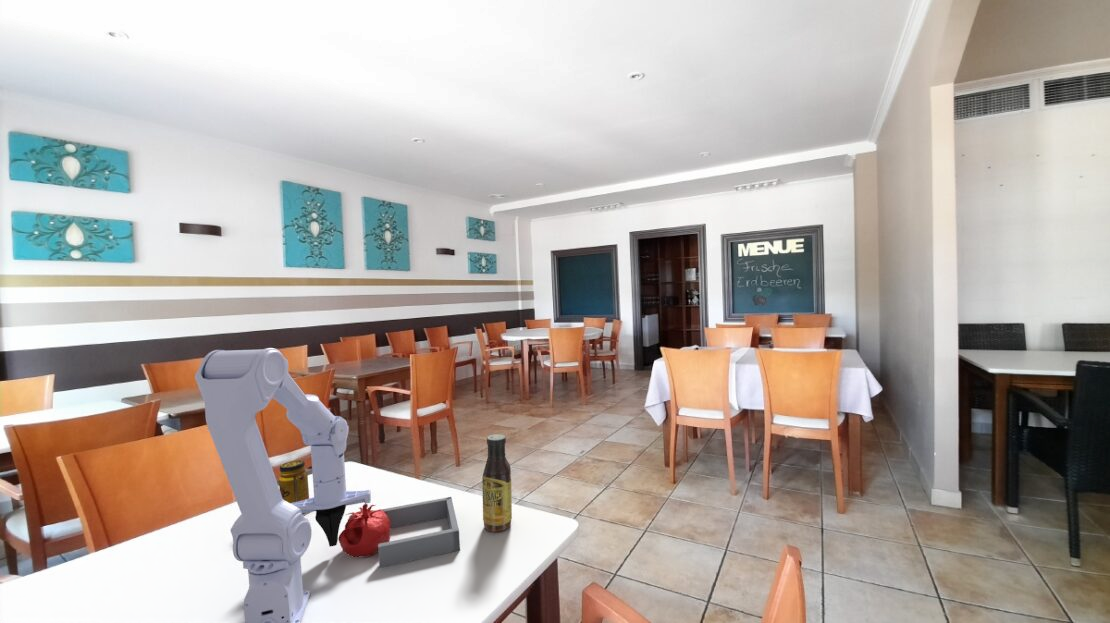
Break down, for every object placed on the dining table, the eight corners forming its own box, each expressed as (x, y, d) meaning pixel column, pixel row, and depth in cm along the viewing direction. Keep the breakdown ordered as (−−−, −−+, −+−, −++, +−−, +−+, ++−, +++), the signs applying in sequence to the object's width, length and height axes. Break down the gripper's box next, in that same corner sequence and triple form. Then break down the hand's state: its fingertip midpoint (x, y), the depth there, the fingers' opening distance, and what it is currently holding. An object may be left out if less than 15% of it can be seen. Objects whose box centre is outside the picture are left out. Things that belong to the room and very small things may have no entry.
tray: (460, 550, 89) (459, 530, 89) (379, 567, 84) (378, 547, 84) (452, 513, 104) (451, 496, 104) (383, 526, 99) (382, 509, 99)
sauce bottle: (477, 530, 96) (473, 439, 95) (494, 516, 102) (490, 430, 101) (502, 536, 93) (498, 442, 92) (518, 522, 99) (514, 433, 98)
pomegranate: (382, 531, 98) (380, 489, 98) (399, 549, 90) (398, 503, 90) (333, 548, 91) (331, 503, 91) (348, 569, 84) (346, 520, 84)
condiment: (272, 517, 106) (268, 467, 106) (303, 501, 114) (300, 454, 114) (295, 521, 104) (291, 470, 103) (325, 504, 112) (321, 457, 111)
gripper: (370, 463, 94) (374, 526, 95) (292, 475, 90) (297, 541, 90) (367, 475, 88) (371, 543, 88) (283, 489, 83) (288, 560, 84)
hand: (333, 543), depth 89 cm, fingers closed
